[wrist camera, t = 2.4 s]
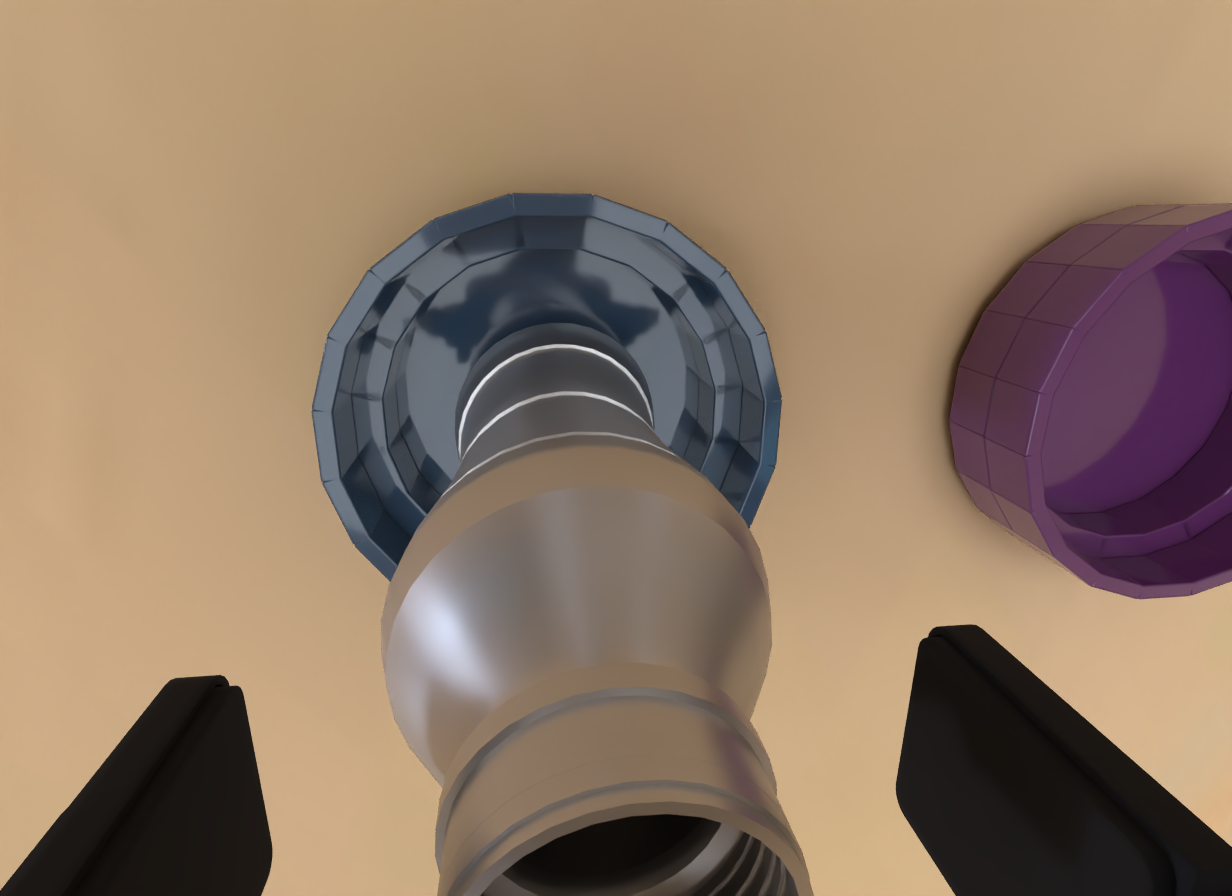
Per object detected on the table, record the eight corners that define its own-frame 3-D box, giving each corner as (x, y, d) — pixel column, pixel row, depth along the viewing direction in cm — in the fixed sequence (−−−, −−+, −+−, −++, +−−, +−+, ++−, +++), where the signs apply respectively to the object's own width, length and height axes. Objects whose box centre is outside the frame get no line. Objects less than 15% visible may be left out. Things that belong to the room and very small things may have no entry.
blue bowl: (331, 195, 22) (279, 189, 18) (747, 200, 24) (800, 196, 19) (375, 576, 27) (344, 652, 22) (723, 558, 29) (762, 624, 24)
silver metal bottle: (676, 393, 26) (1093, 876, 7) (555, 518, 27) (628, 1241, 8) (548, 272, 24) (638, 483, 5) (422, 412, 25) (91, 1040, 6)
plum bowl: (976, 203, 25) (1080, 200, 21) (1308, 207, 27) (1473, 205, 22) (919, 548, 30) (992, 609, 25) (1206, 532, 32) (1325, 587, 27)
